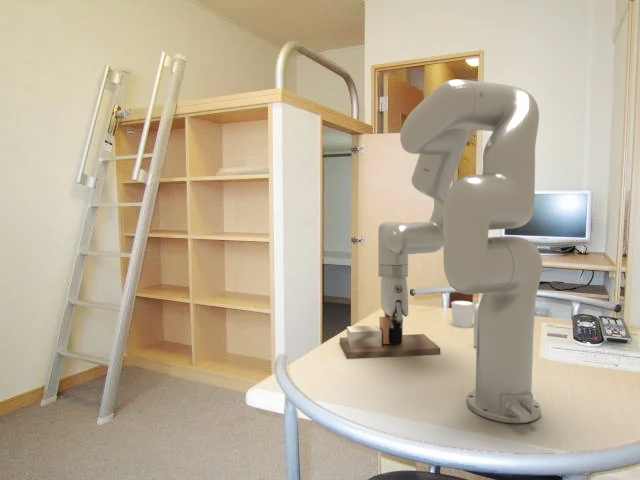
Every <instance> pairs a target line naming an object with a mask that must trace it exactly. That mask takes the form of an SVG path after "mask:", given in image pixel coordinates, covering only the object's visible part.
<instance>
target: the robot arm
mask: <svg viewBox="0 0 640 480" xmlns="http://www.w3.org/2000/svg"><path fill="white" fill-rule="evenodd" d="M539 122H540V112H539V106H538V103H537V101H536V99H535V97H534V96H533V95H532V94H531V93H530V92H528V91H527V90H525V89H523V88H522V87H521V88H520V87H517V86H515V85H514V86H513V85H509V84H508V85H507V84H503V83H495V82H490V81H489V82H488V81H487V82H486V81H476V80H471V79H470V80H468V79H461V78H460V79H450V80H446V81H444V82H443V83H441V84H440V85H439V86H437V87H436V88H435V89H434V90H432V92H430V94H429V95H427V96H426V97H425V98H424V99H423V100H421V102H420V103H418V105H417V106H416V107H414V108H413V110H412V111H411V112H410V113H409V114H408V115H407V117H406V119H405V121H404V122H403V124H402V126H401V130H400V136H399V138H400V139H399V140H400V145H401V147H402V149H403V151H405V152H407V153H409V154H412V155H418V158H417V160H416V164H415V167H414V171H413V173H412V175H411V184H412V186H413V188H414V189H416V190H417V191H419V193H422V194H424V195H425V196H427V197H429V198H432V199H433V209H432V210H433V211H432V212H431V216H430V219H429V221H422V222H419V221H418V222H417V221H416V222H402V221H401V222H400V221H399V222H398V221H391V222H383V223H380V224H379V226H378V231H377V232H378V238H377V242H378V250H377V251H378V253H377V254H378V257H377V259H378V260H377V261H378V262H377V264H378V269H377V272H378V277H379V278H381V280H380V283H381V284H380V308H381V309H382V311H383V313H384V315H383V317H390V328H389V343H390V344H396V343H401V342H402V322H403V323H404V318H403V317H405V318H406V317H408V316H409V296H408V295H409V294H408V293H409V292H408V283H407V278H408V276H409V255H415V254H416V255H417V254H430V253H431V254H432V253H436V252H438V251H440V250H441V249H442V248H443V270H444V274H445V277H446V281H447V282H448V284H449V285H450V286H451V288H452V289H453V290H455V291H456V292H458V293H460V294H463V295H477V294H482V296H481V299H480V301H479V302H478V303H479V307H478V314H477V347H475V348H476V349H475V350H476V352H475V353H476V355H475V356H476V357H475V358H476V359H475V360H476V361H475V389H473V390H471V391H469V392H468V393H467V395H466V405H467V406H468V407H469V409H470V410H471V411H472V412H473V413H475V414H477V415H479V416H481V417H483V418H486V419H489V420H492V421H494V422H495V421H496V422H500V423H507V424H526V423H531V422H534V421H536V420H537V419H538V418H540V416H541V412H542V408H541V407H542V406H541V404H539V402H538V401H537V400H536V399H534V394H533V393H532V390H533V389H532V388H533V357H534V354H533V353H534V332H535V313H536V311H535V310H536V301H537V295H538V291H539V287H540V283H541V278H542V275H543V274H542V273H543V260H542V255H541V252H540V251H539V249H538V248H537V246H536V245H535V244H534V243H533V242H532V241H530V240H528V239H525V238H523V237H519V236H511V235H510V236H506V235H505V236H492V237H491V236H490V237H489V233H490V232H489V231H491V230H506V229H507V230H509V229H517V228H520V227H523V226H525V225H526V224H527V223H529V222H530V221H531V220H532V218H533V214H534V210H535V188H536V144H537V143H536V142H537V136H538V130H539ZM470 131H484V132H485V131H487V132H492V133H491V134H490V136H489V138H488V139H487V142H486V144H485V145H484V146H485V147H484V149H483V152H482V153H483V154H482V174H468V175H464V176H461V177H459V178H458V179H456V180H455V181H454V182H453V180H454V177H455V175H456V171H457V169H458V167H459V164H460V161H461V159H462V156H463V153H464V151H465V148H466V145H467V143H468V140H469V138H470ZM393 318H396V320H394V322H393Z"/></svg>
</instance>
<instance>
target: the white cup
mask: <svg viewBox="0 0 640 480" xmlns="http://www.w3.org/2000/svg"><path fill="white" fill-rule="evenodd" d="M450 304H451V316H452V326H453V327H457V328H464V329H467V328H471V327H473V323H474V309H475V306H476V304H475V302H472V301H469V300H468V301H467V300H453V301H451V302H450Z"/></svg>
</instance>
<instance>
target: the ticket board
mask: <svg viewBox="0 0 640 480" xmlns="http://www.w3.org/2000/svg"><path fill="white" fill-rule="evenodd" d="M339 344H340V346H341V349H342V350H343V353H344V355H345V358H346V359H347V360H348V359H369V358H370V359H371V358H387V357H390V358H391V357H408V356H409V357H410V356H412V357H413V356H427V355H428V356H431V355H441V347H440V346H438V344H436V343H435V342H434V341H433V340H431V339H430V338H429V337H428V336H427V335H426V334H425V333H420V334H403V340H402V343H396V344H383V343H382V331H381V330H380V326H379V325H377V324H376V325H374V324H373V325H356V326H353V325H352V326H346V337H345V336H344V337H339Z"/></svg>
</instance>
